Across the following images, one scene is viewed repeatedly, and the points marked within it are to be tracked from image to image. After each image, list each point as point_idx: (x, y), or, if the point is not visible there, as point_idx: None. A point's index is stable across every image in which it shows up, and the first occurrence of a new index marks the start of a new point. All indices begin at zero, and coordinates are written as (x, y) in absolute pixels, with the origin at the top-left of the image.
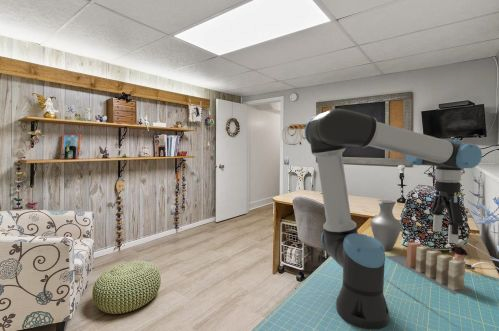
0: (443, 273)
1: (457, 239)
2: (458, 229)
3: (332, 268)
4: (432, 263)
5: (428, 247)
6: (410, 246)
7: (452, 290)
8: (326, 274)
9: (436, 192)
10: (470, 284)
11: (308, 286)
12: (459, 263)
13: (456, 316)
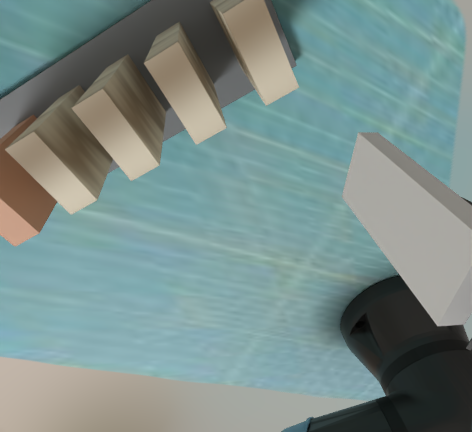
0: (212, 87)
1: (394, 152)
2: (468, 207)
3: (188, 364)
4: (155, 127)
5: (35, 145)
6: (39, 227)
7: None
8: (231, 370)
9: None
10: None
11: (300, 387)
12: (282, 48)
13: (412, 117)
